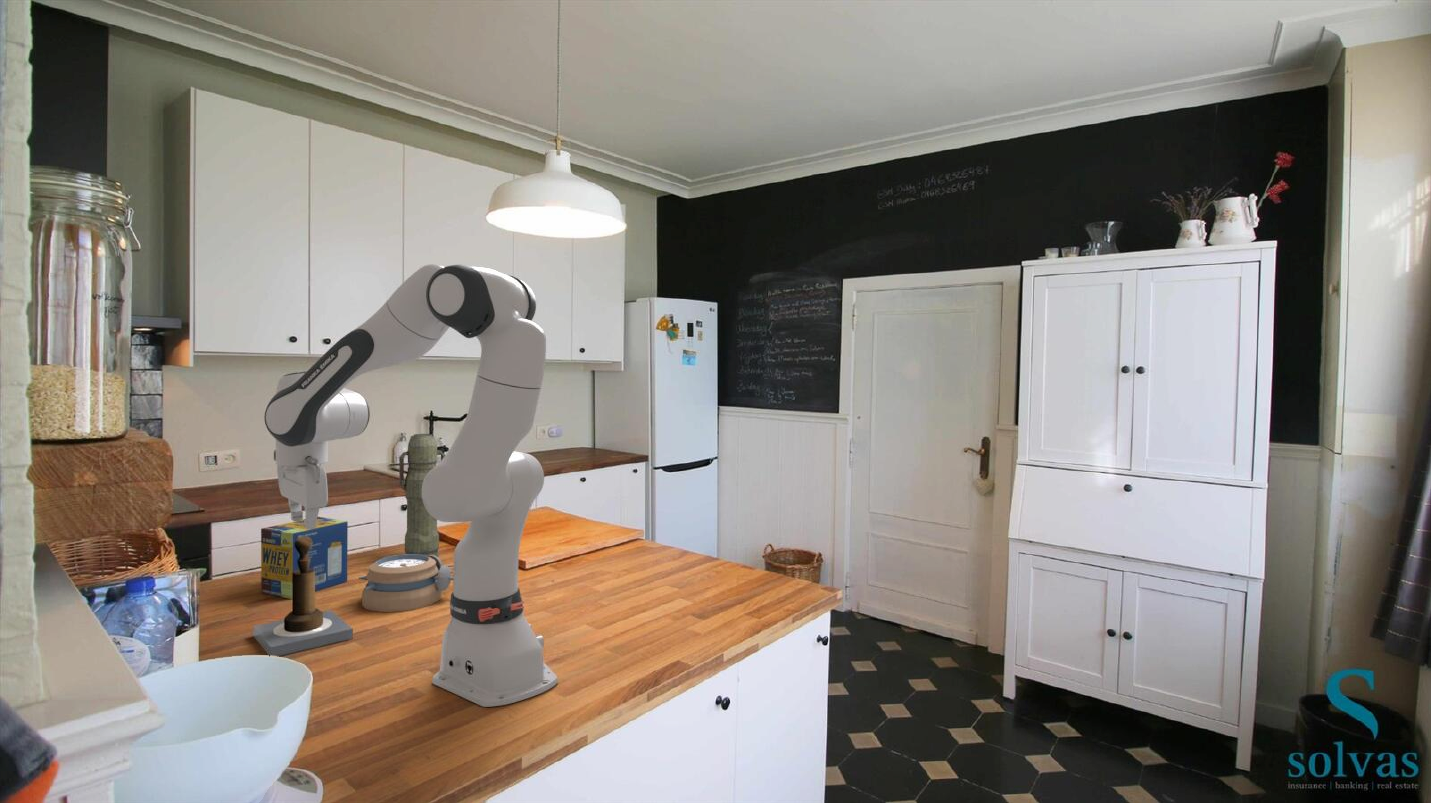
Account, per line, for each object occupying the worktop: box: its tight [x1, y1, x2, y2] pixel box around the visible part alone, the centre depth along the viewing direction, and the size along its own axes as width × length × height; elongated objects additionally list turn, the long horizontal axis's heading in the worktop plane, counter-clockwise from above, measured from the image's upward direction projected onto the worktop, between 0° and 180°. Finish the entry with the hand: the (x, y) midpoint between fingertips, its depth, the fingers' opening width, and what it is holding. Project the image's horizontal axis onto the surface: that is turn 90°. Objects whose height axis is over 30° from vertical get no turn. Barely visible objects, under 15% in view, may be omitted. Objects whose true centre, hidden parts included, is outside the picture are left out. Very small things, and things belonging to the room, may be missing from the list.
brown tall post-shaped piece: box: [283, 536, 324, 632], centre depth 137 cm, size 7×6×18 cm
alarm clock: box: [358, 553, 454, 613], centre depth 163 cm, size 17×9×23 cm
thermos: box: [398, 433, 446, 558], centre depth 194 cm, size 9×12×35 cm
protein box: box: [260, 516, 349, 600], centre depth 167 cm, size 10×15×16 cm
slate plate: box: [252, 609, 354, 657], centre depth 137 cm, size 14×14×2 cm
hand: (303, 524), depth 136 cm, fingers open, 8 cm apart
